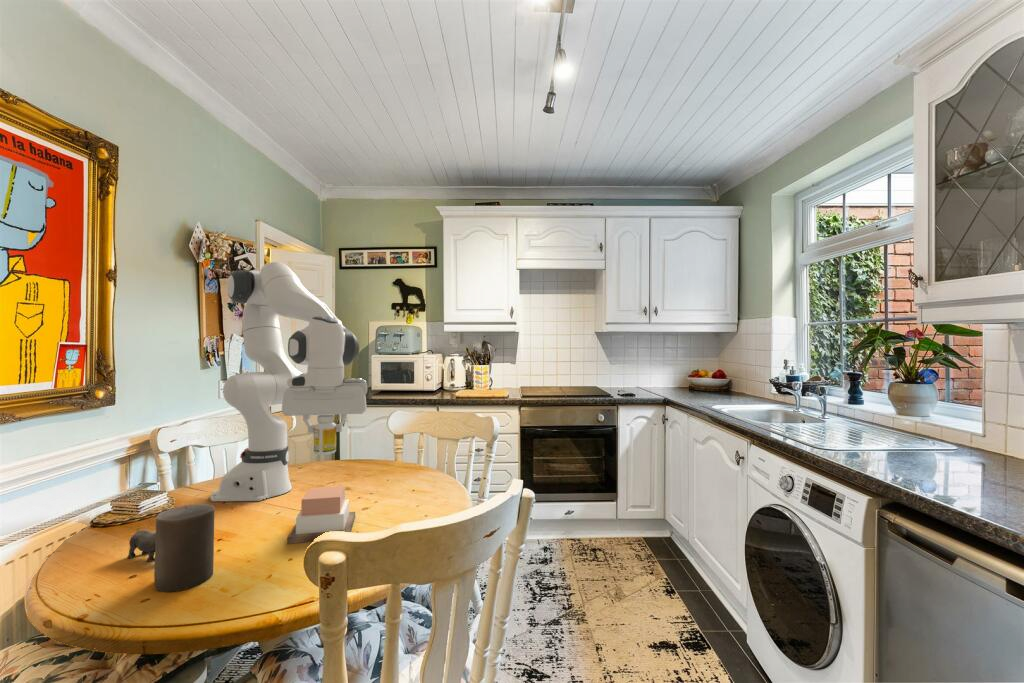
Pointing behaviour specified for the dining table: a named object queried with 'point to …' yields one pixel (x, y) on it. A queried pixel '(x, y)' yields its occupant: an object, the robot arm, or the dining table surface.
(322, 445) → the supplement bottle
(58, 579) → the dining table surface
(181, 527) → the pillar candle
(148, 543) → the rhino figurine
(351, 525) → the baseplate
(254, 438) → the robot arm
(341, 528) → the pink white stepped block
